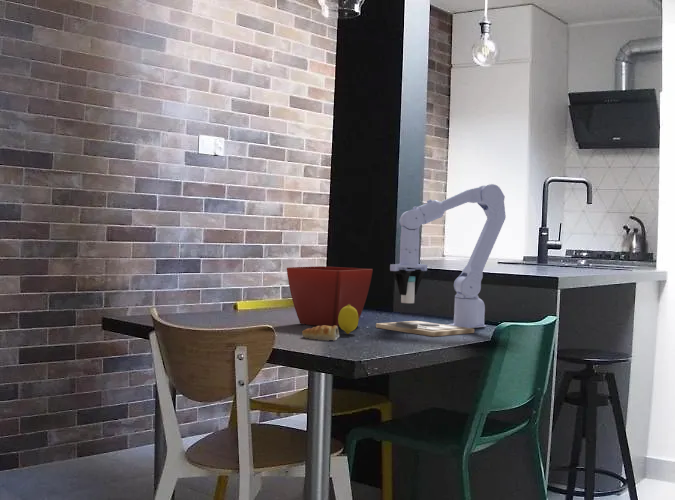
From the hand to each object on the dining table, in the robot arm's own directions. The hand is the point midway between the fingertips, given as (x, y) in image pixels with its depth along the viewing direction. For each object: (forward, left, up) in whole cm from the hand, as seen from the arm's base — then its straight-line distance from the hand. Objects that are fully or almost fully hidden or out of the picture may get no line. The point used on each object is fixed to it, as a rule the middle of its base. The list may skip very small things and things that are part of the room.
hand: (408, 294), depth 247 cm
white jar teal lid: (0, 0, -2) cm, 2 cm away
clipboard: (+5, +11, -9) cm, 15 cm away
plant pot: (+22, -12, -10) cm, 26 cm away
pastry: (+44, +11, -10) cm, 47 cm away
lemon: (+32, +7, -10) cm, 34 cm away
